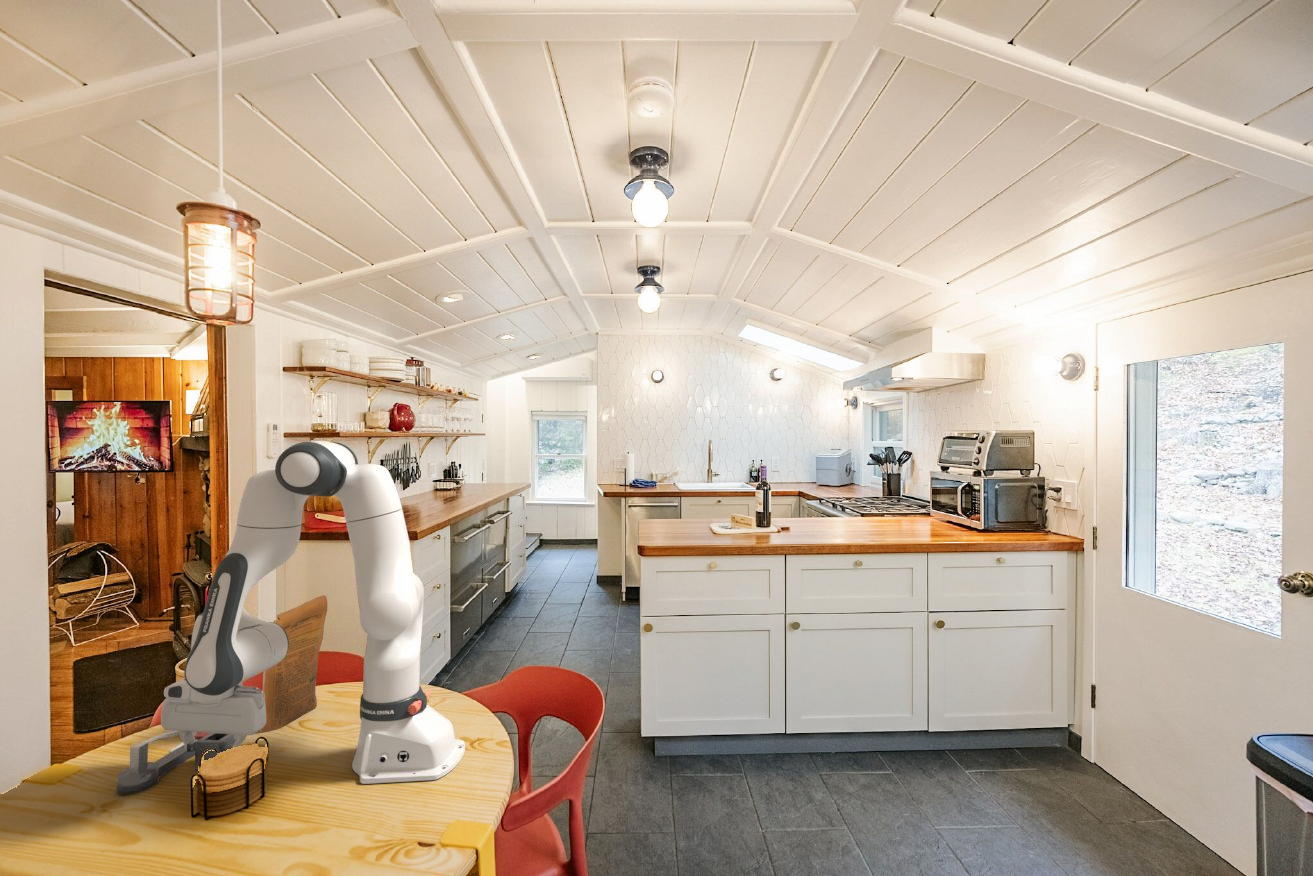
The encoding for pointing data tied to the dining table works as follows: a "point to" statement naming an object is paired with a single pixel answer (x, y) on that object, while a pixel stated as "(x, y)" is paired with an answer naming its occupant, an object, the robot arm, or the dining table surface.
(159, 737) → the pliers
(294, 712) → the pancake mix bag
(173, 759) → the ratchet
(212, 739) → the socket
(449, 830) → the dining table surface
